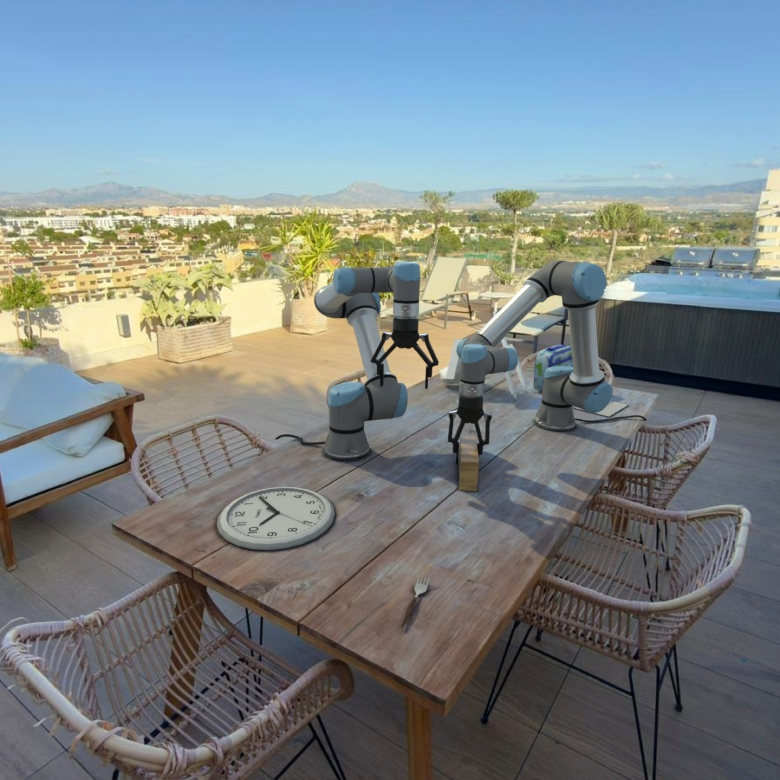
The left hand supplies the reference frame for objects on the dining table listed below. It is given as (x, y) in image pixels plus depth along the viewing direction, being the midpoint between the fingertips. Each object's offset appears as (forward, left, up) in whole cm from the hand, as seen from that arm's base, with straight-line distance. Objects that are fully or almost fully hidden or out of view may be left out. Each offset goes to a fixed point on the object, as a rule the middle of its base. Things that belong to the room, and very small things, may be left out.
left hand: (404, 386), depth 159 cm
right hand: (+17, +13, -26) cm, 34 cm away
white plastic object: (-8, +88, -27) cm, 92 cm away
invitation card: (+44, +98, -27) cm, 111 cm away
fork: (+33, -54, -27) cm, 69 cm away
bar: (+20, +6, -27) cm, 34 cm away
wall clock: (-13, -44, -27) cm, 53 cm away
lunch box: (+20, +113, -27) cm, 117 cm away
